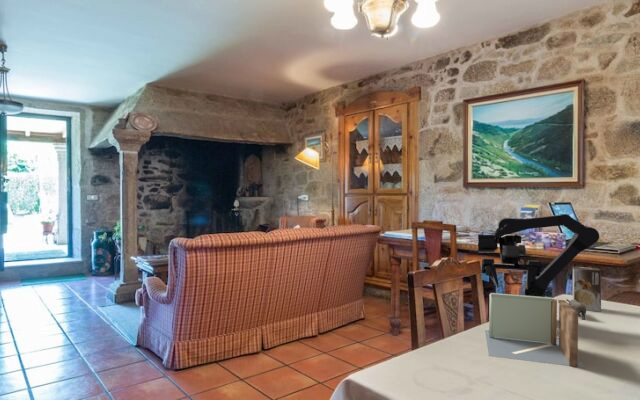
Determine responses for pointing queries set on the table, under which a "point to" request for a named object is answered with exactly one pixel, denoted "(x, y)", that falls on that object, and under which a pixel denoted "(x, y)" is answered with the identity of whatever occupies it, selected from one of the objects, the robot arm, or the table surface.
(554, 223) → the robot arm
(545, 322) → the panel
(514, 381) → the table surface
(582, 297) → the coffee box
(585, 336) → the table surface
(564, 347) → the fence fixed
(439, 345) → the table surface
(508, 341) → the card
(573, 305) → the rhino figurine
